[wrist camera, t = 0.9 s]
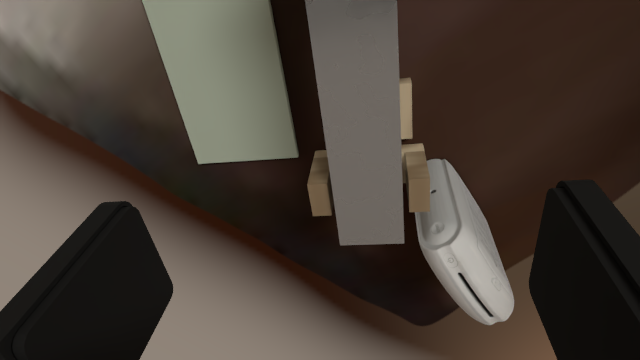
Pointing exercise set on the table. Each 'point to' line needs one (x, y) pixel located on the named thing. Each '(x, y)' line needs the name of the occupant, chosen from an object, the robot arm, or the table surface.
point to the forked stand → (412, 166)
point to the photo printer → (463, 248)
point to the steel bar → (360, 115)
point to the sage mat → (226, 77)
